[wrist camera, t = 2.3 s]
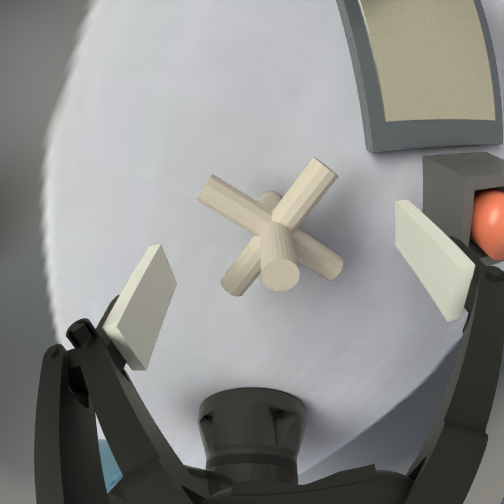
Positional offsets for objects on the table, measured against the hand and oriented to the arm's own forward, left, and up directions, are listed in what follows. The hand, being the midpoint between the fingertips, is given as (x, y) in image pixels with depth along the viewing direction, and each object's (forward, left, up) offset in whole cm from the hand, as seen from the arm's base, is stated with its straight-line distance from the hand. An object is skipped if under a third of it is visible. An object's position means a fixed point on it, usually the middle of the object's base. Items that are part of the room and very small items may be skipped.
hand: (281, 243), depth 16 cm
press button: (-2, -17, -3) cm, 17 cm away
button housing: (-2, -17, -8) cm, 18 cm away
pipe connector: (0, 0, -8) cm, 8 cm away
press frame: (+12, -15, -8) cm, 20 cm away
